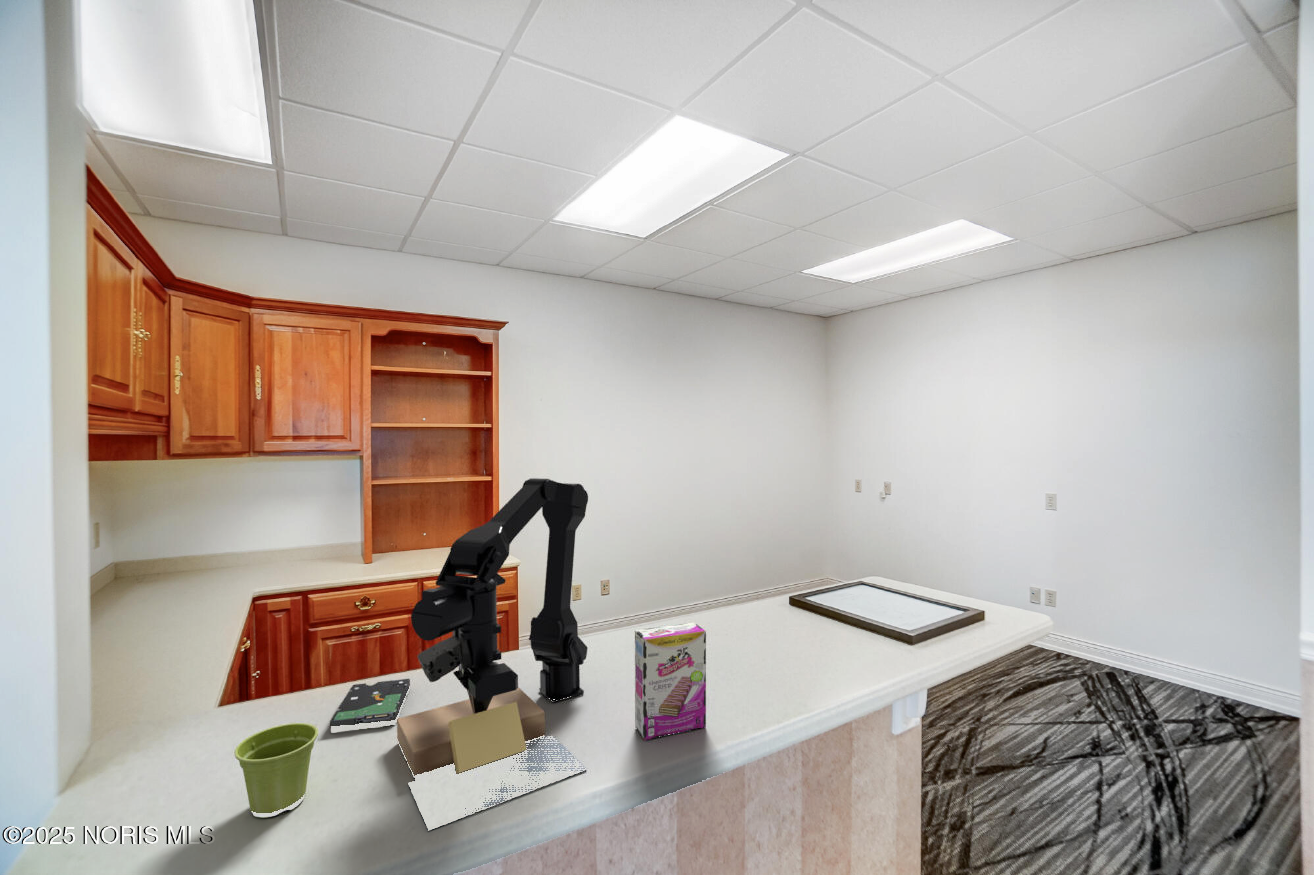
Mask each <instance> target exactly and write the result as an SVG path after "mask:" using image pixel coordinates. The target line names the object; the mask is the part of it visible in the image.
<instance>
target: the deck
mask: <svg viewBox="0 0 1314 875" xmlns="http://www.w3.org/2000/svg"><path fill="white" fill-rule="evenodd" d="M514 702H517V706H518V711H519V716H520V721H521V725H522V730H523V735H524V740H525V741H528V740H532V739H534V738H538V737H540V736H543V735H545V736H546V713H545V711H544V710H543V709H542V708H541V707H540V706H539V705H538V704H537V703H536V702H535V701H534V700H533V699H532V698H531V697H530V696H528V695H527V693H525V692H524V690H522V688H520V687H519V686H518V688H517V689H516V690H514V691H511V692H507V693H503V694H499V695H496V696H493V698H492V700H491V702H490V704H489V706H488V709H487V710H490V709H493V708H497V707H500V706H503V705H507V704H510V703H514ZM472 714H473V711H472V707H471V703H470V699H469V698H468V699H465V700H462V701H457V702H454V703H450V704H447V705H442V706H438V707H435V708H432V709H427V710H425V711H422V712H417V713H414V714H410V715H406V716H402V717H399V718H398V719H397V723H396V732H397V733H396V734H397V739H398V741H399V744H400V746H401V748H402V750H403V753H404V755H405V757H406V759H407V762H408V764H409V766H410V768H411V770H412V772H413V774H414V776H415V775H417V774H422V773H424V772H429V771H432V770H434V769H437V768H440V767H444V766H446V765H450V764H453V763H454V758H453V752H452V745H451V739H450V733H449V726H448V723H449V722H450V721H451V720H455V719H458V718H462V717H465V716H469V715H472ZM397 739H396V740H397Z"/></svg>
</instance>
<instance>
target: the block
mask: <svg viewBox="0 0 1314 875" xmlns="http://www.w3.org/2000/svg"><path fill="white" fill-rule="evenodd" d="M448 726H449V733H450V739H451V745H452V752H453V758H454V765H455V771H456V774H459V773H462V772H465V771H468V770H471V769H474V768H477V767H480V766H483V765H486V764H489V763H492V762H495V761H498V760H501V759H504V758H507V757H510V756H513V755H516V754H518V753H522V752H524V751H525V750H527V749H526V744H525V740H524V735H523V730H522V725H521V721H520V716H519V711H518V706H517V702H514V703H510V704H507V705H503V706H500V707H497V708H493V709H490V710H486V711H483V712H479V713H476V714H472V715H469V716H465V717H462V718H458V719H455V720H451V721H450V722H449V723H448Z"/></svg>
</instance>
